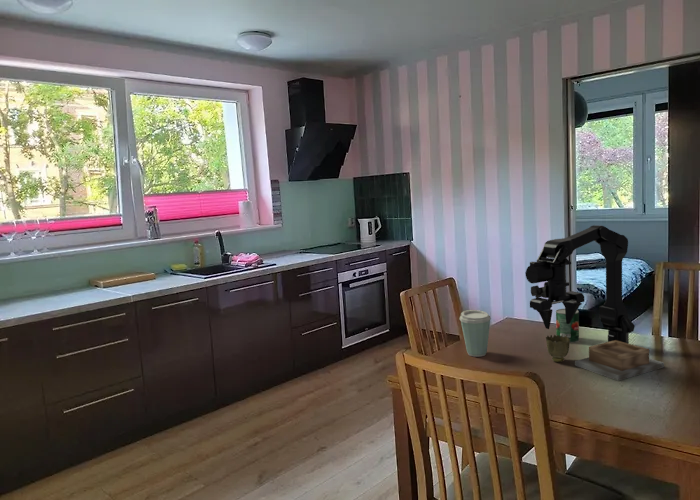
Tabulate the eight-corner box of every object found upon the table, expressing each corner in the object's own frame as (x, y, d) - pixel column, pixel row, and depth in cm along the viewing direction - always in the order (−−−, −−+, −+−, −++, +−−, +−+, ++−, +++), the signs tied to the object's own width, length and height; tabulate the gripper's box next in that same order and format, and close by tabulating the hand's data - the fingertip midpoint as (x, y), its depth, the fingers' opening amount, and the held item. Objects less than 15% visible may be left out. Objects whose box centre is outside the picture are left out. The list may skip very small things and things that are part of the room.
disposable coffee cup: (497, 352, 188) (496, 311, 187) (482, 361, 181) (480, 318, 179) (471, 347, 196) (469, 307, 194) (455, 355, 188) (453, 314, 186)
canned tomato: (554, 337, 202) (553, 308, 201) (575, 336, 201) (575, 308, 200) (559, 343, 194) (558, 313, 193) (581, 342, 193) (581, 313, 192)
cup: (572, 365, 172) (572, 340, 171) (548, 364, 173) (547, 341, 172) (567, 357, 179) (567, 334, 178) (544, 357, 180) (544, 334, 179)
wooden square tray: (618, 353, 179) (618, 336, 178) (663, 367, 165) (664, 348, 164) (574, 365, 171) (574, 347, 170) (618, 380, 156) (618, 360, 156)
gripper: (558, 272, 184) (559, 316, 186) (516, 280, 176) (518, 326, 178) (585, 276, 174) (586, 323, 176) (542, 284, 166) (543, 333, 168)
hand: (557, 326), depth 175 cm, fingers open, 9 cm apart
